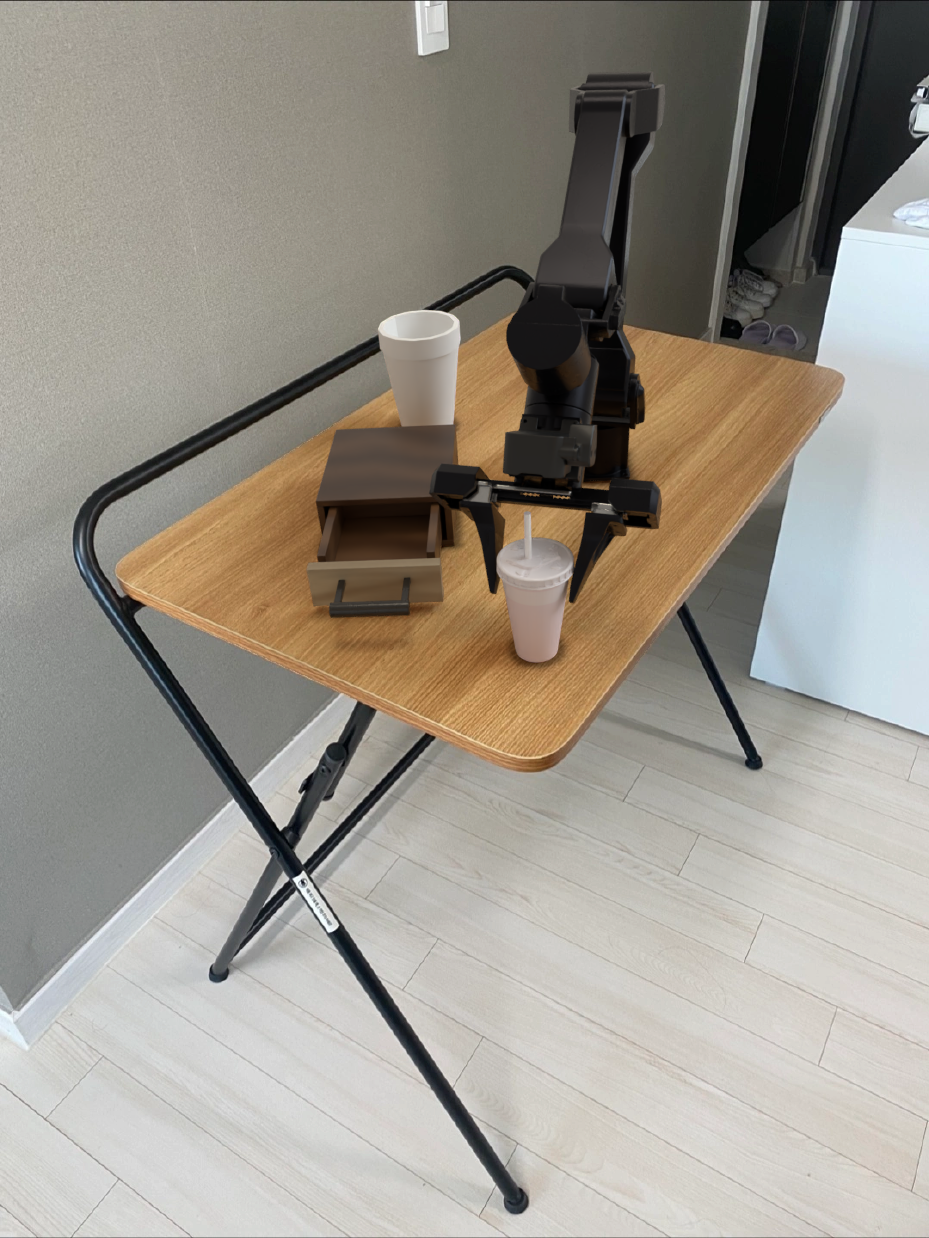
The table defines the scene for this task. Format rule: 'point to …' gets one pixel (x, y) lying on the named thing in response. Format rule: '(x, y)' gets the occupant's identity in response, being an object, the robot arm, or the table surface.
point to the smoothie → (535, 591)
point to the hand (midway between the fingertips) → (531, 598)
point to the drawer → (378, 559)
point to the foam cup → (422, 365)
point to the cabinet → (387, 468)
